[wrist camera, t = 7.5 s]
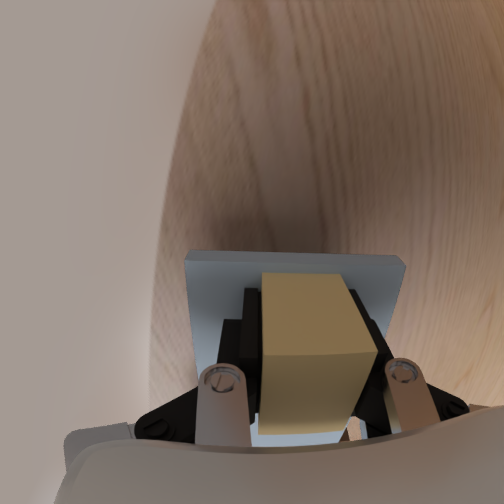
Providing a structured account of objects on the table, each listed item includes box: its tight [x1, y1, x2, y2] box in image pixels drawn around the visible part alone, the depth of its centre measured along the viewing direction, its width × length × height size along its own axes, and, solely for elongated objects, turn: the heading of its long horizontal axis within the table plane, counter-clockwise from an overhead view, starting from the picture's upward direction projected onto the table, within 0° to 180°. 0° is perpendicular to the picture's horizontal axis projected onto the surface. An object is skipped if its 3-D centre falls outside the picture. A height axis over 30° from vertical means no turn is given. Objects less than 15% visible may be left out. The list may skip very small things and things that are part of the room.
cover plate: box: [184, 250, 406, 447], centre depth 12 cm, size 14×9×5 cm, turn 179°
